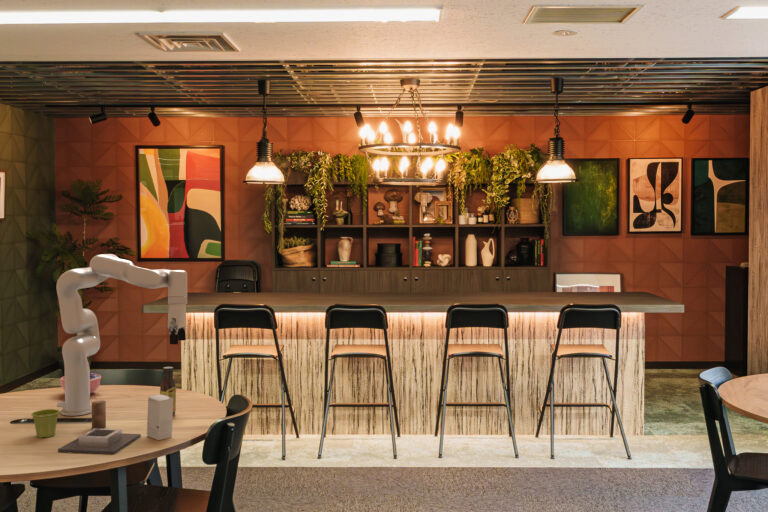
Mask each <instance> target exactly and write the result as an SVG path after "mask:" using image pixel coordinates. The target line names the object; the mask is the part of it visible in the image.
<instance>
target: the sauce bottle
mask: <svg viewBox="0 0 768 512" xmlns="http://www.w3.org/2000/svg"><path fill="white" fill-rule="evenodd" d="M162 371H163V377H162V378H163V379H162V380H161V382H160V384H159V385H160V386H159V387H160V388H159V389H160V390H159V395H164V396H168V397H170V398H173V417H174V416H175V415H176V408H177V407H176V406H177V405H176V402H177V398H176V397H177V386H176V383H175V380H174V379H175V378H174V367H173V366H164V367H163V368H162Z"/></svg>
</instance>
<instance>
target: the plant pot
mask: <svg viewBox="0 0 768 512" xmlns="http://www.w3.org/2000/svg"><path fill="white" fill-rule="evenodd" d="M59 413H60V414H61V410H59V409H57V408H56V409H54V408H50V409H40V410H37V411H36V410H35V411H33V412H31V417H32V419H33V424H34V427H35V435H36V437H37V438H38V439H39V438H40V439H42V438H51V437H53V436H55V435H56V433H57V432H56V431H57V430H56V429H57V423H58V417H59Z"/></svg>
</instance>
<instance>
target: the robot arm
mask: <svg viewBox="0 0 768 512" xmlns="http://www.w3.org/2000/svg"><path fill="white" fill-rule="evenodd" d="M109 278H112V279H116V280H120V281H124V282H126V283H127V284H131V285H133V286H137V287H141V288H146V289H151V290H153V289H154V290H155V289H160V288H167V304H168V309H167V310H168V312H167V329H168V330H169V345H178V344H179V341H182V342H183V341H186V325H187V309H186V308H187V307H186V305H188V272H187V271H186V270H183V269H166V268H159V269H150V268H144V267H139V266H137V265H135V264H134V262H133V261H131V260H128V259H124V258H119V257H118V256H117V255H116V254H113V253H103V254H96V255H95V256H93V257H92V258H91V260H90V261H89V266H88V267H77V268H72V269H68V270H67V271H65V272H64V273H62V274H60V276H59V278H58V279H57V282H56V293H57V299H58V303H59V312H60V319H61V325H62V329H63V330H64V332H65V333H67V334H71V335H72V334H77V336H73V337H70V338H69V339H67V340H65V342H64V343H63V345H62V349H61V353H62V358H63V359H62V360H63V365H64V376H65V391H64V401H57V404H56V408H62V410H60V414H61V415H63V416H67V417H75V416H76V417H77V416H83V415H88V414H92V405H91V394H90V373H91V372H90V371H91V370H90V363H89V360H88V357H91V356H94V355H95V354H97V352H98V351H99V350H100V348H101V339H100V338H101V337H100V329H99V322H98V318H97V316H96V314H95V312H94V311H92V310H91V309H89V308H83V307H84V306H83V302H82V301H83V300H82V297H81V295H80V294H79V291H78V290H80V289H81V290H82V289H87V288H94V287H96V286H97V285H100V283H103V282H104V281H106V280H107V279H109Z"/></svg>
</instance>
